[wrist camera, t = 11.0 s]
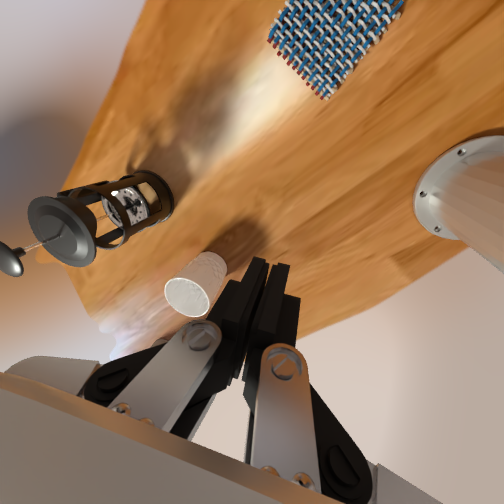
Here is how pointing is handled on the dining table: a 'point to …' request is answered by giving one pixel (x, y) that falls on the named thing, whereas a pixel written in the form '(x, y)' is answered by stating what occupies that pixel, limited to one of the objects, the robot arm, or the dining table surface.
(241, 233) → the dining table surface
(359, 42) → the woven mat
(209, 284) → the white cup
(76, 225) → the french press
